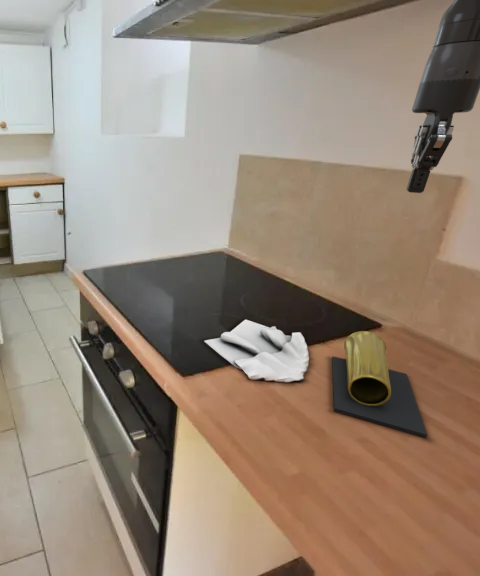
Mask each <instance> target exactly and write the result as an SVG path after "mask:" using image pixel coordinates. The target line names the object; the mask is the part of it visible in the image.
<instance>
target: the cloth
mask: <svg viewBox="0 0 480 576" xmlns="http://www.w3.org/2000/svg"><path fill="white" fill-rule="evenodd" d="M305 340H306V339H305V337H304V336H303V334H302V332H292V333H291V335H288V334H287V335H286V334H285V333H284V332H283V331H282V330H280V329H277V326H275V325H274V326H271V327H269V326H267V325H263V324H260V323H258V322H254V321H251V320H248V319H244V320H243V321H241V322H240V323H239V324H237V325H236V327H234V328H233V329H232V330H230V331H224V332H223V333H221V334H220V337H217V338H216V337H215V338H210V339H206V340H203V342H204V343H205V344H206V345H207V346H209V347H210V348H211V349H212V350H213V351H215V353H217V354H218V355H219V356H220V357H222V358H223V359H225V360H226V361H227V362H228V363H230V364H231V365H232V366H234V368H236V369H239V370H243V372H244V373H245V374H246V375H247V377H248V378H249V380H253V381H257V380H260V381H261V380H262V381H268V382H272V381H273V382H278V383H285V384H287V383H291V382H294V381H303V380H305V377H304V375H305V373H306V372H307V370H308V367H309V361H310V356H309V350H308V344H307V342H306V341H305Z"/></svg>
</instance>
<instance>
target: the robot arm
mask: <svg viewBox="0 0 480 576" xmlns="http://www.w3.org/2000/svg"><path fill="white" fill-rule="evenodd" d="M479 92H480V0H453V1H452V2H451V3H450V5H448V7H446V9H445V11H444V13H443V14H442V17H441V19H440V22H439V25H438V28H437V32H436V34H435V39H434V42H433V45H432V49H431V51H430V54H429V56H428V58H427V60H426V62H425V66H424V68H423V71H422V75H421V77H420V81H419V85H418V88H417V91H416V95H415V98H414V102H413V105H412V108H411V111H412V112H413V113H414V114H426V116H425V118H424V122H423V124H421V125H418V127H417V130H416V133H415V136H414V142H413V149H412V154H411V159H410V164H411V169H412V170H411V173H410V176H409V179H408V181H407V182H408V183H407V185H406V191H407V192H409V193H414V194H422V193H424V191H425V189H426V185H427V183H428V180H429V177H430V174H431V171H432V170H433V169H434V168H437V166H438V165H439V164H440V161H441V160H442V158H443V156H444V154H445V152H446V150H447V148H448V147H449V145H450V143H451V142H452V140H453V131H454V128H455V125H452V123H453V119H454V114H458V113H459V114H460V113H463V114H464V113H469V112H471V111H472V110H473V109H474V107H475V104H476V101H477V98H478V95H479Z"/></svg>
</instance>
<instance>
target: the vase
mask: <svg viewBox="0 0 480 576" xmlns="http://www.w3.org/2000/svg"><path fill="white" fill-rule="evenodd" d="M343 347H344V351H345V357H346V358H345V359H346V363H347V378H348V391H349V394H350V396H351V397H352V398H353V399H354V400H355V401H356V402H358V403H360V404H362V405H366V406H379V405H382V404H384V403H386V402H387V401H388V400H389V399H390V396H391V386H390V380H389V373H388V369H389V365H388V357H387V343H386V342H385V340H384V339H383V338H382V337H381V336H380V335H378V334H377V333H375V332H372V331H367V330H361V331H355V332H353V333H351V334H349V335H348V336H347V338H345V340H344V344H343Z"/></svg>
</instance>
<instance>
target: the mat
mask: <svg viewBox="0 0 480 576" xmlns="http://www.w3.org/2000/svg"><path fill="white" fill-rule="evenodd" d="M331 369H332V370H331V371H332V373H331V374H332V395H333V396H332V397H333V412H335V413H338V414H343V415H346V416H350V417H353V418H357V419H360V420H363V421H366V422H370V423H374V424H377V425H380V426H383V427H387V428H391V429H394V430H398V431H401V432H404V433H407V434H411V435H415V436H418V437H421V438H427V436H428V433H427V430H426V427H425V424H424V420H423V418H422V415H421V412H420V409H419V406H418V403H417V401H416V398H415V395H414V391H413V389H412V386H411V382H410V380H409V376H408V374H407V373H406V372H401V371H397V370H392V369H389V368H388V373H389V380H390V386H391V396H390V399H389V400H388V401H387V402H386V403H384V404H382V405H379V406H366V405H362V404H360V403H358V402H356V401H355V400H354V399H353V398H352V397H351V396H350V394H349V391H348V378H347V363H346V358H341V357H337V356H332V357H331Z"/></svg>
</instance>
